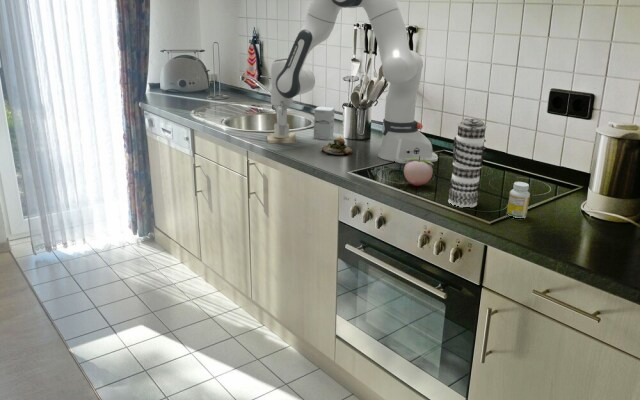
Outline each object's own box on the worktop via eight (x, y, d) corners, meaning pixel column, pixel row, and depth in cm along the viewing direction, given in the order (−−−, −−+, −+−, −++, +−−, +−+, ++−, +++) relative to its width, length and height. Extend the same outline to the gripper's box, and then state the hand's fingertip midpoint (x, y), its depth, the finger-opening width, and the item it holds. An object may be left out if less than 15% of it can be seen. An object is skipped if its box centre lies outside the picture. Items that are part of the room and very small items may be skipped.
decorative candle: (446, 196, 173) (455, 116, 164) (476, 198, 172) (487, 118, 163) (447, 206, 165) (456, 122, 156) (479, 209, 163) (491, 124, 155)
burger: (315, 151, 219) (316, 133, 216) (339, 147, 225) (340, 129, 223) (334, 159, 210) (335, 139, 207) (358, 154, 216) (359, 135, 214)
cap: (288, 134, 237) (288, 122, 235) (288, 137, 231) (289, 125, 229) (274, 134, 236) (274, 122, 234) (274, 137, 231) (274, 125, 229)
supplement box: (313, 138, 237) (313, 109, 233) (317, 134, 244) (318, 105, 239) (330, 140, 235) (331, 110, 231) (333, 136, 242) (335, 107, 238)
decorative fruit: (402, 189, 178) (404, 159, 174) (402, 181, 186) (404, 152, 182) (432, 191, 177) (435, 161, 173) (431, 183, 184) (434, 154, 181)
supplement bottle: (515, 220, 156) (520, 187, 152) (502, 213, 160) (507, 182, 157) (530, 218, 158) (535, 185, 154) (517, 211, 162) (522, 180, 159)
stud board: (295, 136, 240) (295, 126, 239) (296, 143, 229) (296, 133, 228) (267, 136, 239) (267, 126, 238) (267, 143, 228) (267, 133, 227)
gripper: (290, 104, 219) (290, 138, 224) (288, 95, 238) (288, 127, 243) (274, 104, 218) (274, 138, 223) (273, 95, 237) (273, 127, 242)
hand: (281, 132), depth 233 cm, fingers closed on cap, 6 cm apart
